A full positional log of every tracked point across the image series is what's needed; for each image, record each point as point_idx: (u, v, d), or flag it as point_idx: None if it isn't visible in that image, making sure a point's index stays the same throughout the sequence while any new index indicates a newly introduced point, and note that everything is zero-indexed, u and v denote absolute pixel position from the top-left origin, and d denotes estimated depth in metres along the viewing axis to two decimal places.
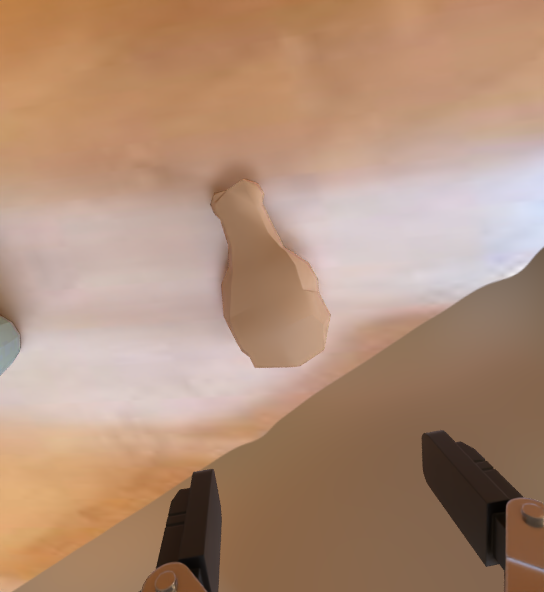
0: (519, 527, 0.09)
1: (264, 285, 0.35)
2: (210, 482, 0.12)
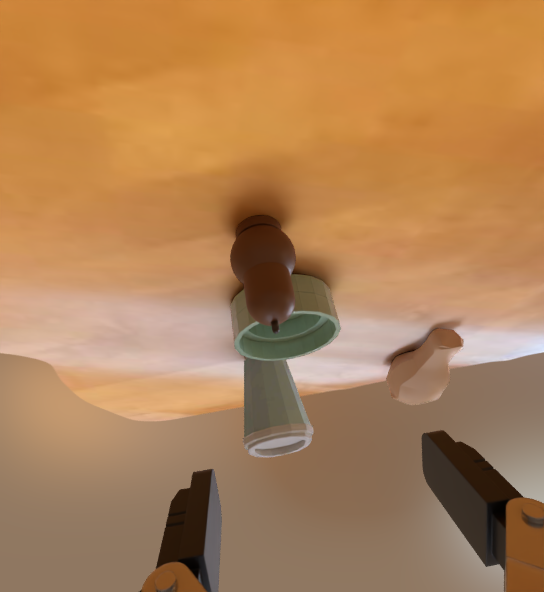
0: (519, 527, 0.09)
1: (430, 386, 0.66)
2: (210, 482, 0.12)
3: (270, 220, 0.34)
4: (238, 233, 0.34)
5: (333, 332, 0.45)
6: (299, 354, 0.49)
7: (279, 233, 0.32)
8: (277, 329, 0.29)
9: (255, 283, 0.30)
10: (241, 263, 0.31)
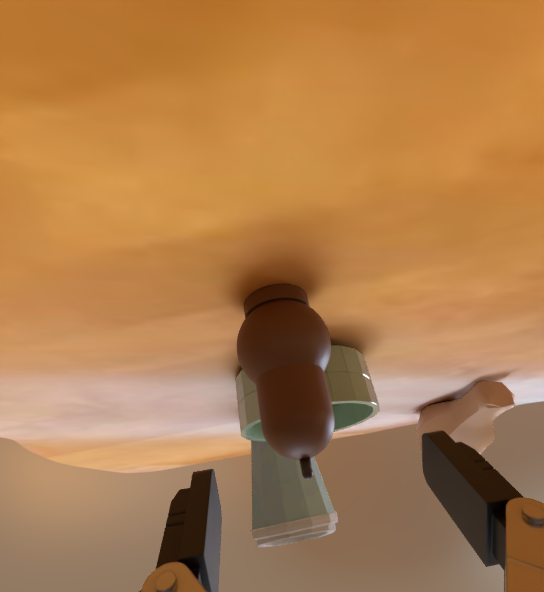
0: (519, 527, 0.09)
1: (471, 445, 0.56)
2: (210, 482, 0.12)
3: (294, 290, 0.23)
4: (248, 309, 0.24)
5: (368, 412, 0.35)
6: None
7: (308, 315, 0.22)
8: (310, 474, 0.19)
9: (275, 400, 0.20)
10: (253, 362, 0.21)
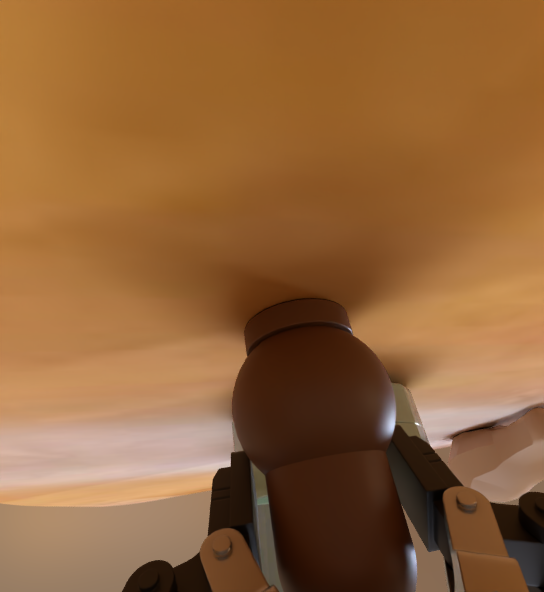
0: (457, 516, 0.10)
1: (518, 483, 0.46)
2: (249, 461, 0.13)
3: (330, 310, 0.14)
4: (251, 340, 0.14)
5: None
6: None
7: (360, 357, 0.12)
8: None
9: (306, 530, 0.10)
10: (262, 447, 0.11)
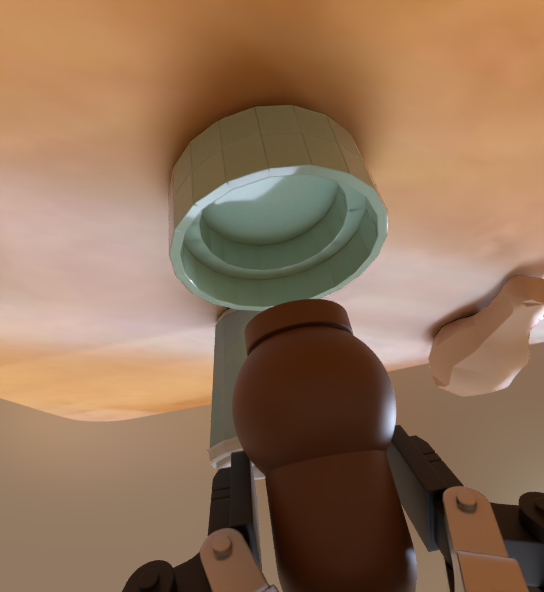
0: (457, 516, 0.10)
1: (500, 366, 0.44)
2: (249, 461, 0.13)
3: (330, 310, 0.14)
4: (251, 340, 0.14)
5: (371, 246, 0.23)
6: None
7: (361, 357, 0.12)
8: None
9: (306, 530, 0.10)
10: (262, 447, 0.11)
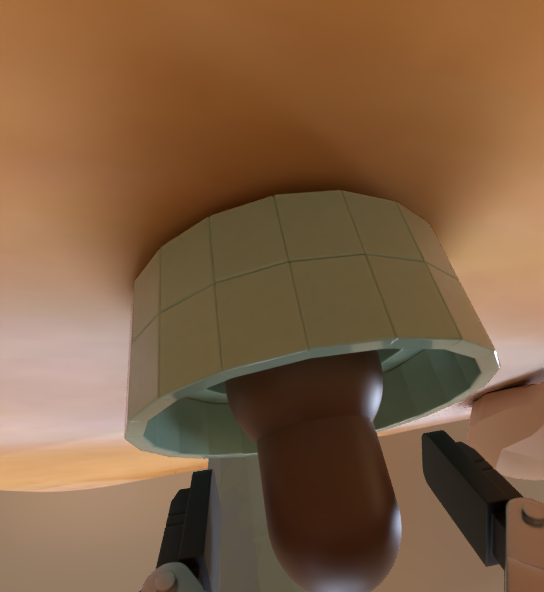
0: (519, 527, 0.09)
1: None
2: (210, 482, 0.12)
3: None
4: None
5: (452, 391, 0.15)
6: None
7: None
8: None
9: (294, 489, 0.11)
10: (253, 413, 0.12)
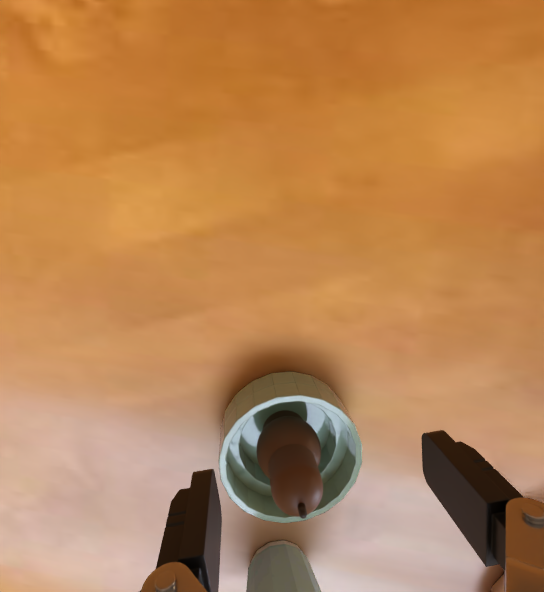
0: (519, 527, 0.09)
1: None
2: (210, 482, 0.12)
3: (293, 413, 0.36)
4: None
5: (354, 455, 0.33)
6: (317, 509, 0.34)
7: (301, 420, 0.34)
8: (304, 511, 0.27)
9: (279, 463, 0.30)
10: (266, 448, 0.32)
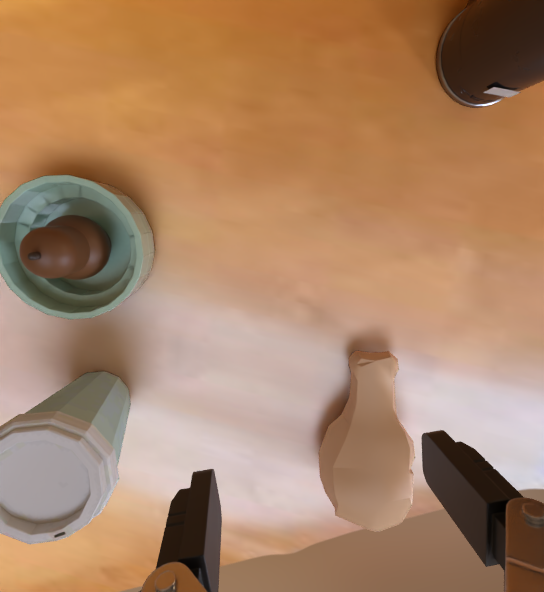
0: (519, 527, 0.09)
1: (378, 456, 0.39)
2: (210, 482, 0.12)
3: None
4: None
5: (136, 248, 0.33)
6: (103, 307, 0.34)
7: None
8: (32, 253, 0.27)
9: None
10: None
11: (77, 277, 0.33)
